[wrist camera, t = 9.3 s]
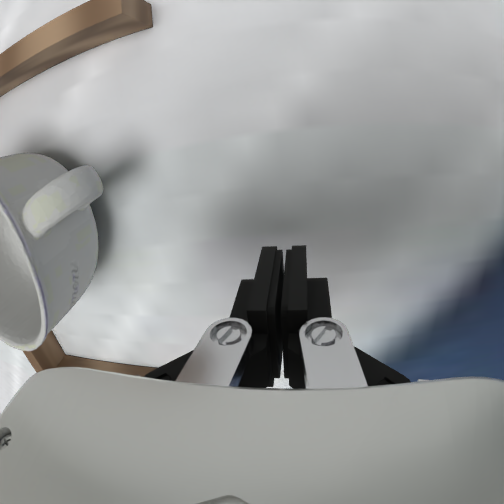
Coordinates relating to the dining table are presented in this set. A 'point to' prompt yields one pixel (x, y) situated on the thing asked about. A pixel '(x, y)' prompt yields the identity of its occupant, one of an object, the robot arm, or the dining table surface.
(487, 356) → the dining table surface
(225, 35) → the dining table surface
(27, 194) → the teacup
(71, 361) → the walnut bay
